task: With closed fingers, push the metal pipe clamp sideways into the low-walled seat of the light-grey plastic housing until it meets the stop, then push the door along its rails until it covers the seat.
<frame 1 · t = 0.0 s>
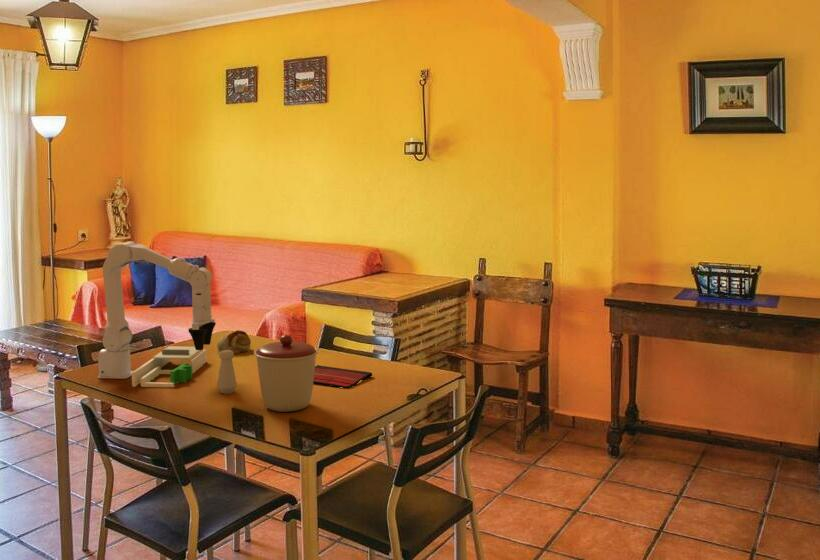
hand: (203, 347, 254), 10 cm above the table, tool pointing down, fingers open, 7 cm apart
binder: (332, 381, 255), on the table
door: (178, 350, 266), point 6 cm above the table, slide at 15.5 cm
salt shaker: (227, 392, 239), on the table
pipe clamp: (183, 381, 252), on the table
canister: (287, 407, 226), on the table
pastry: (234, 350, 293), on the table
housing: (163, 380, 252), on the table
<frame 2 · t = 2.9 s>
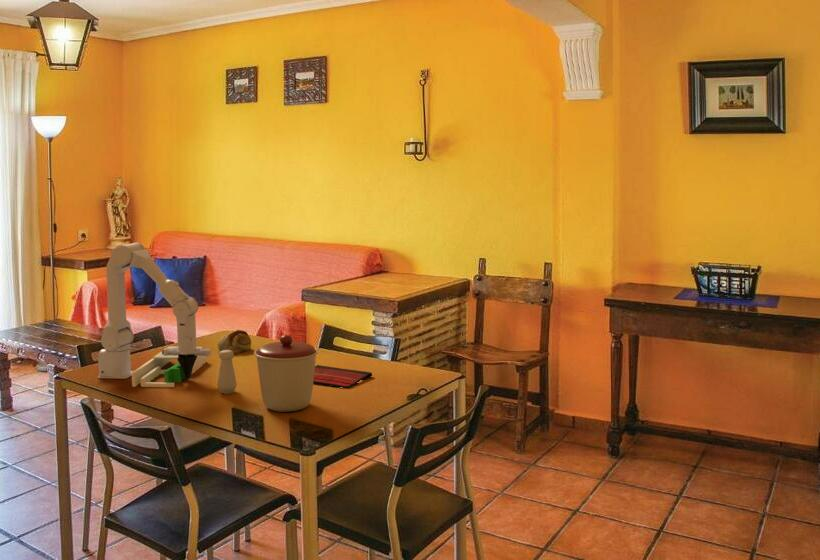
hand: (188, 377, 252), 1 cm above the table, tool pointing down, fingers closed
pipe clamp: (177, 380, 252), on the table
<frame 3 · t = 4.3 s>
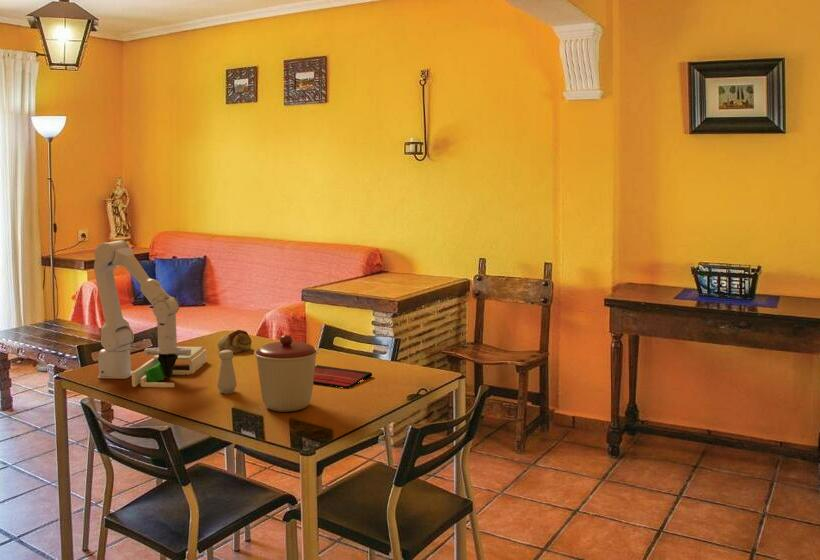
hand: (168, 377, 252), 1 cm above the table, tool pointing down, fingers closed
pipe clamp: (161, 379, 252), on the table
everything else where it was.
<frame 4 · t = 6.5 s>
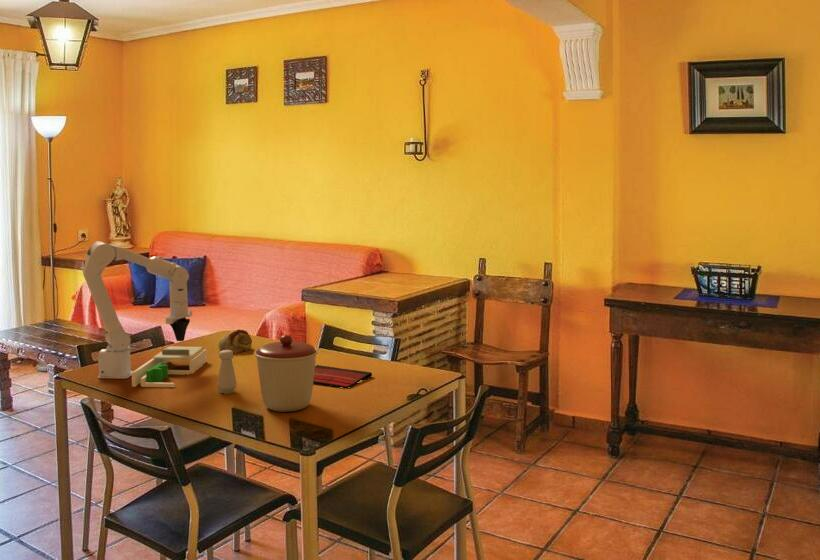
hand: (180, 340, 266), 9 cm above the table, tool pointing down, fingers closed
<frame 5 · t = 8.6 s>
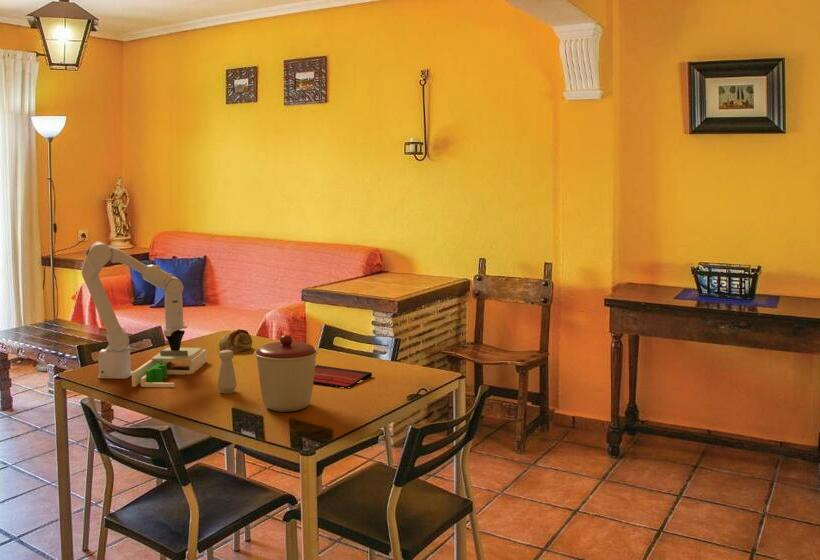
hand: (175, 352, 263), 6 cm above the table, tool pointing down, fingers closed
door: (177, 351, 265), point 6 cm above the table, slide at 13.9 cm, touching gripper
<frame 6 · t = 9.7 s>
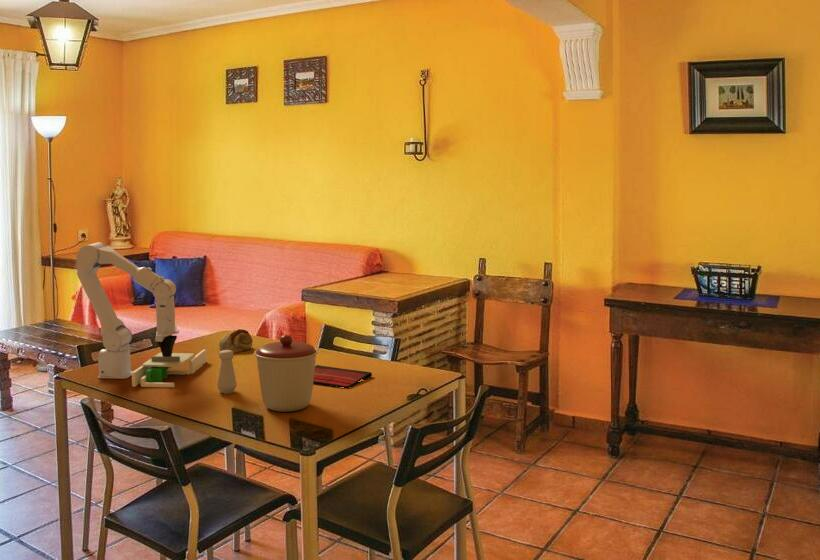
hand: (167, 358, 255), 6 cm above the table, tool pointing down, fingers closed
door: (168, 357, 257), point 6 cm above the table, slide at 5.9 cm, touching gripper
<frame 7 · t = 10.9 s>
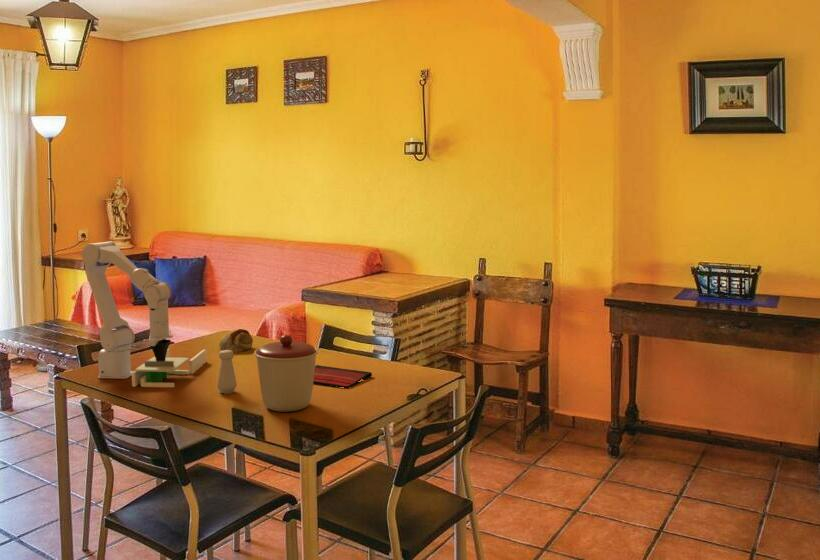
hand: (160, 363, 249), 6 cm above the table, tool pointing down, fingers closed
door: (162, 362, 251), point 6 cm above the table, slide at 0.0 cm, touching gripper
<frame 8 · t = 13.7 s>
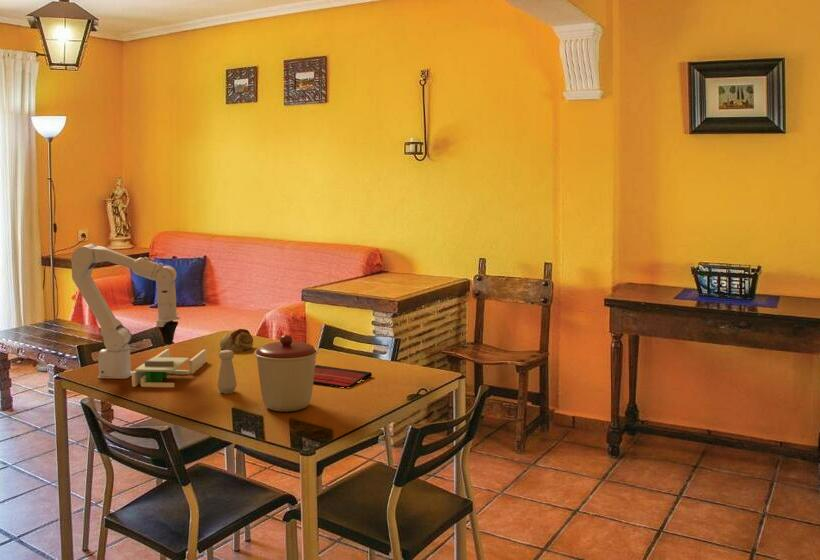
hand: (168, 344, 256), 10 cm above the table, tool pointing down, fingers closed
door: (162, 362, 251), point 6 cm above the table, slide at 0.0 cm
at the end: pipe clamp inside the target area on the housing (1.2 cm from its centre), point 0.0 cm above the housing's base; door slide at 0.0 cm; the gripper is holding nothing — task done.
